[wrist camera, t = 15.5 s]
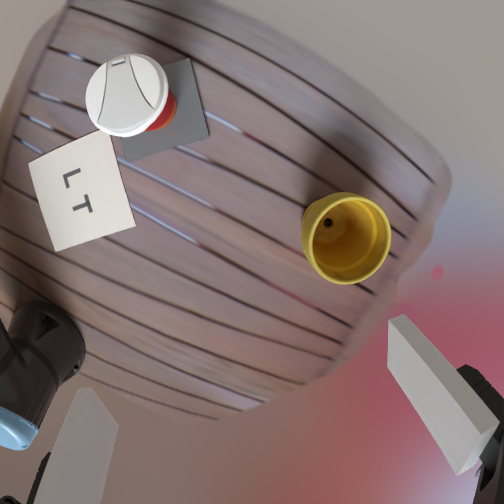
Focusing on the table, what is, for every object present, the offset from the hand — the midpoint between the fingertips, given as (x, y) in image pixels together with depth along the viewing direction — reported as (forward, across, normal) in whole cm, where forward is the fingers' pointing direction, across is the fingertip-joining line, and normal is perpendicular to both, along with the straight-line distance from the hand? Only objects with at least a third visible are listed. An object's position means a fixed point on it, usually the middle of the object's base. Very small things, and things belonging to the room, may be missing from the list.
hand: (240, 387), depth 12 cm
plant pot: (+31, +13, -4) cm, 34 cm away
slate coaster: (+31, -5, +16) cm, 35 cm away
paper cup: (+30, -5, +16) cm, 35 cm away
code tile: (+31, -19, +9) cm, 37 cm away
